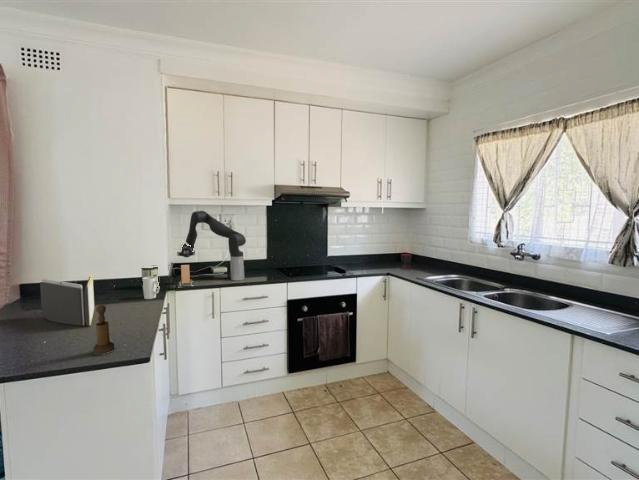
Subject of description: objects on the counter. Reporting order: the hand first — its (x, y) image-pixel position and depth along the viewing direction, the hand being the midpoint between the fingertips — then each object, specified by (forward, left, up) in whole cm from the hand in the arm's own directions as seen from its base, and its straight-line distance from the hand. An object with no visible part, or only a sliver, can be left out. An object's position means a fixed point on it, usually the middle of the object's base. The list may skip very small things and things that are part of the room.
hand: (185, 255), depth 243 cm
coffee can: (+21, +18, -18) cm, 33 cm away
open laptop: (+45, +68, -18) cm, 83 cm away
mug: (+17, +43, -18) cm, 50 cm away
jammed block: (0, +13, -18) cm, 22 cm away
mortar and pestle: (+24, +116, -18) cm, 120 cm away
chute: (0, +16, -18) cm, 24 cm away
